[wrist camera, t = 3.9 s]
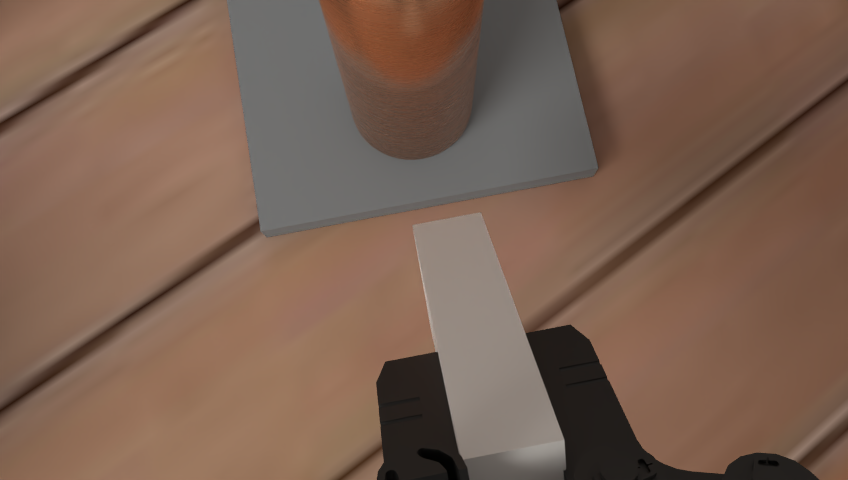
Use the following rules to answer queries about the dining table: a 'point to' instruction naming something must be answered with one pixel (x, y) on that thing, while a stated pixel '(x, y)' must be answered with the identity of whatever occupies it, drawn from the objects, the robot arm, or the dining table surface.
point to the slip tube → (407, 69)
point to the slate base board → (379, 173)
